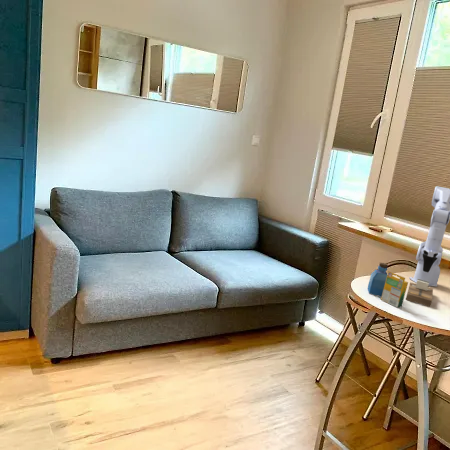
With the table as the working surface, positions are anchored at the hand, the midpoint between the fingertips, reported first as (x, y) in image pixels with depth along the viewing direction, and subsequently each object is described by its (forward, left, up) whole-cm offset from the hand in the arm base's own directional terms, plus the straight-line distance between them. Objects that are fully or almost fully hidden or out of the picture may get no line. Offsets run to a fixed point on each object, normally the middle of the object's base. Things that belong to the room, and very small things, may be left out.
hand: (425, 269), depth 190 cm
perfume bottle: (+24, +8, -10) cm, 27 cm away
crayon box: (+23, +18, -10) cm, 31 cm away
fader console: (+5, +8, -9) cm, 13 cm away
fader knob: (+3, +5, -7) cm, 9 cm away
